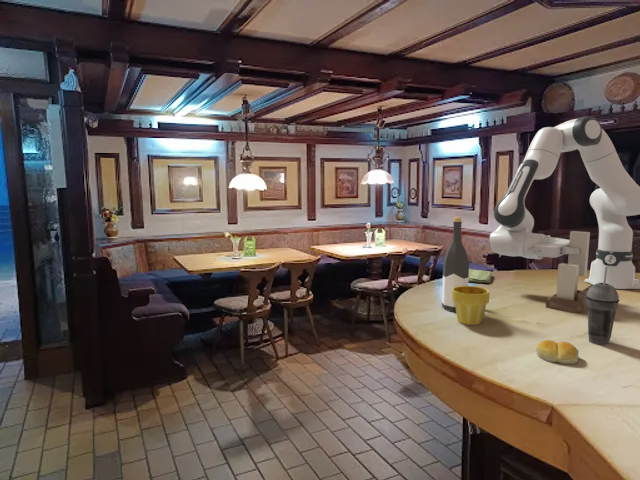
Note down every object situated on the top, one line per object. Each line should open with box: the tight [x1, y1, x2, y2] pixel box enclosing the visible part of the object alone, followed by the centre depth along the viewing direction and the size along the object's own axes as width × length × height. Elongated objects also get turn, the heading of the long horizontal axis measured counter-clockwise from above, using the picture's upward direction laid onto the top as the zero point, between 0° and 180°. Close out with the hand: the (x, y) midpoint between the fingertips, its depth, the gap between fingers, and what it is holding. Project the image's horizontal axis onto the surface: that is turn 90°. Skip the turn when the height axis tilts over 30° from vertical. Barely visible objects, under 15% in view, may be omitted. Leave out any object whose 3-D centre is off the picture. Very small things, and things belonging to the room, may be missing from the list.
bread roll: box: [535, 339, 580, 365], centre depth 106 cm, size 8×9×4 cm
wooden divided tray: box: [545, 284, 593, 315], centre depth 145 cm, size 16×10×8 cm, turn 136°
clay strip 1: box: [555, 262, 579, 301], centre depth 140 cm, size 3×5×14 cm, turn 46°
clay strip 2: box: [567, 230, 591, 277], centre depth 147 cm, size 3×5×14 cm, turn 46°
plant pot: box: [452, 285, 490, 326], centre depth 133 cm, size 10×10×10 cm
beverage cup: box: [586, 267, 620, 346], centre depth 115 cm, size 7×7×20 cm
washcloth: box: [468, 268, 493, 285], centre depth 191 cm, size 13×18×3 cm
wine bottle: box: [441, 216, 470, 312], centre depth 145 cm, size 8×8×30 cm
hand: (581, 250), depth 146 cm, fingers closed on clay strip 2, 3 cm apart
